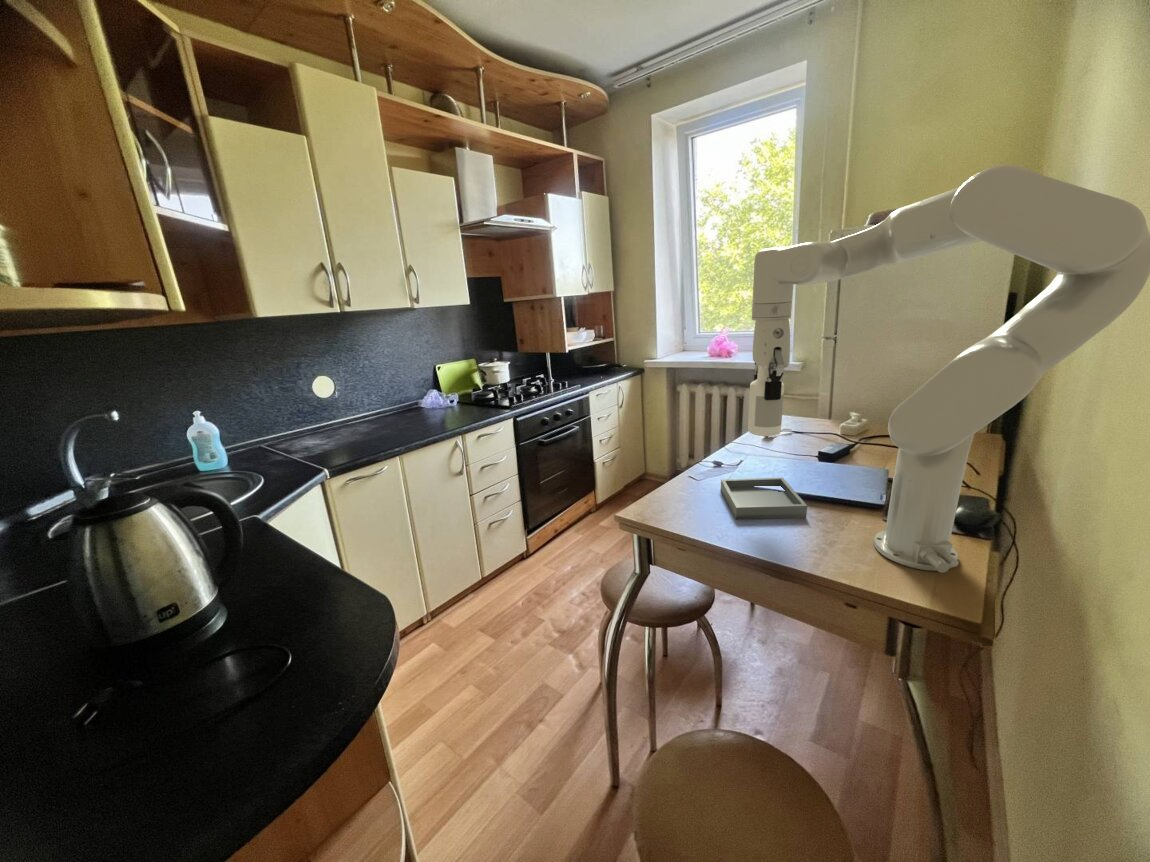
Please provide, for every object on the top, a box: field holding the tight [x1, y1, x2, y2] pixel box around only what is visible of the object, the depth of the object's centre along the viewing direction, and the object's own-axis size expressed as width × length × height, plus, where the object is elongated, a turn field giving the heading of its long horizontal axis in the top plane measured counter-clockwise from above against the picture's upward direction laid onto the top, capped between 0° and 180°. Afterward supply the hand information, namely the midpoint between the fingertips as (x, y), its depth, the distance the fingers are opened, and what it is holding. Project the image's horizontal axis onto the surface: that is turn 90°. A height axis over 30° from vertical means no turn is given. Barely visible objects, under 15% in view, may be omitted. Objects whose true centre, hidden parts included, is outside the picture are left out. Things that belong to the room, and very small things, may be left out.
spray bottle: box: [747, 364, 785, 437], centre depth 98 cm, size 7×7×18 cm
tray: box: [720, 477, 808, 521], centre depth 106 cm, size 15×15×3 cm
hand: (766, 394), depth 98 cm, fingers closed on spray bottle, 6 cm apart
